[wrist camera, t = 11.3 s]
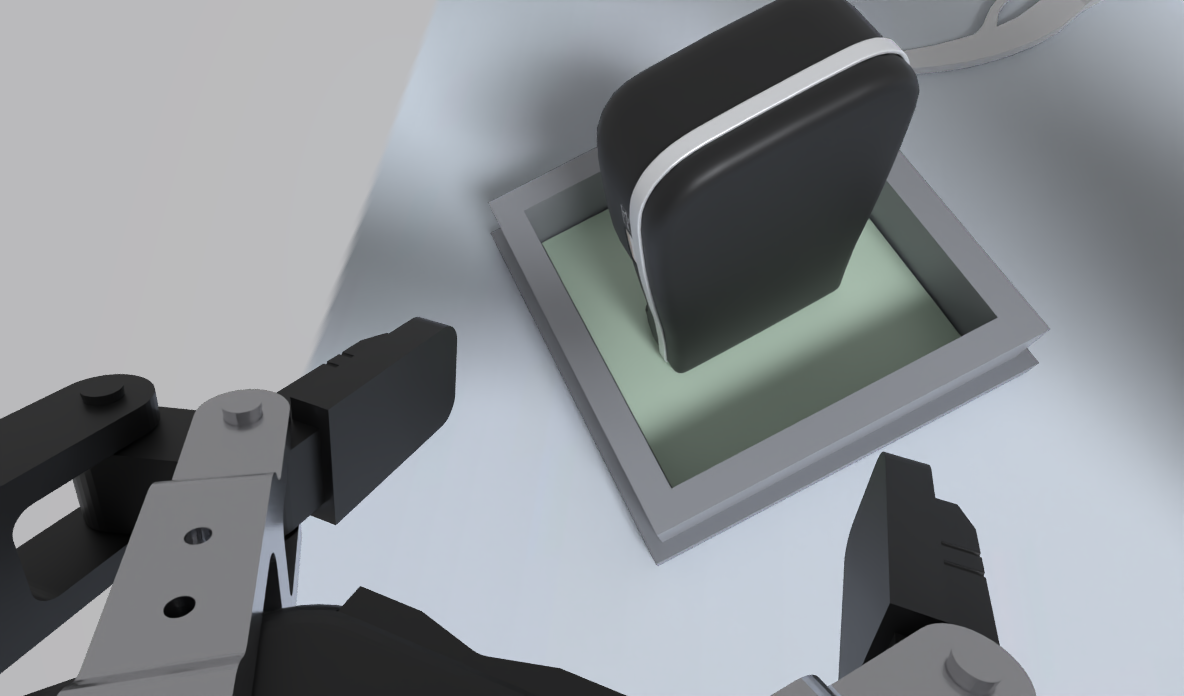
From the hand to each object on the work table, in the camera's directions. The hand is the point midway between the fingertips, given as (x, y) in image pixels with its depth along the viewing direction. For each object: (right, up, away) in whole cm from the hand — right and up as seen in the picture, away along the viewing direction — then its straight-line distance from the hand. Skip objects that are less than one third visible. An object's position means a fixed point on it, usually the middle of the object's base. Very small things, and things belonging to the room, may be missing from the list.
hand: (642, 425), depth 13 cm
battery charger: (+4, +3, +12) cm, 13 cm away
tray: (+4, +3, +13) cm, 14 cm away
